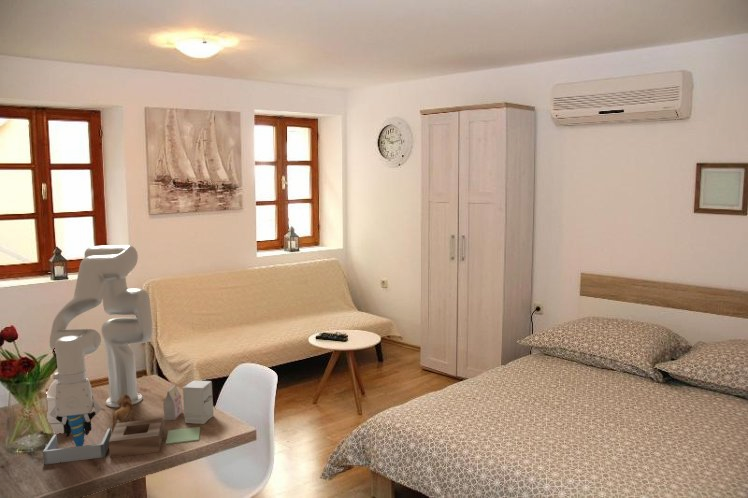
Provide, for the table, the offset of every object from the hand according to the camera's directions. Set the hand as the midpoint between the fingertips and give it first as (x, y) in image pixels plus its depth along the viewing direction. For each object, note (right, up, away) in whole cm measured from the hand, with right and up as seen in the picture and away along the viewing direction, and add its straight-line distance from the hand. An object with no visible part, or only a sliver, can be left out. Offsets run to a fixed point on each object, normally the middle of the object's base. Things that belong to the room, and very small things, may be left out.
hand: (78, 433), depth 192 cm
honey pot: (-15, -4, +20) cm, 25 cm away
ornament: (0, -6, +1) cm, 6 cm away
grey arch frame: (0, -6, 0) cm, 6 cm away
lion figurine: (+6, -3, +20) cm, 21 cm away
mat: (+29, -4, +10) cm, 31 cm away
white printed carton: (+21, -2, +26) cm, 34 cm away
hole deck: (+17, -5, +4) cm, 18 cm away
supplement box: (+31, -2, +23) cm, 38 cm away
